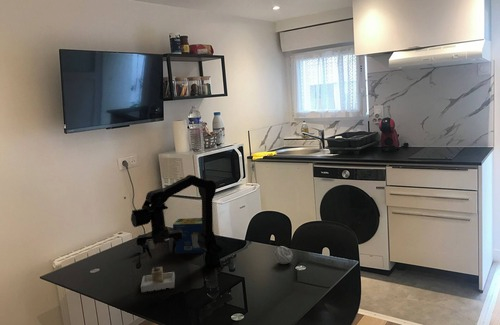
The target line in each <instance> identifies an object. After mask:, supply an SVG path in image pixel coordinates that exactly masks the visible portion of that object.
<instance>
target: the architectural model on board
mask: <svg viewBox="0 0 500 325" xmlns="http://www.w3.org/2000/svg"><path fill="white" fill-rule="evenodd" d="M147 236H152V234H151V233H149V234H148V235H147ZM158 244H159V243H157V244H154V243H153V240H152V241H149V245H150V249H151V250H153V249H155V248H158V247H159V246H158ZM137 248H138V254H144V252H145V253H146V252H147V250H146V249H145V248H144V247H141V246H140V245H137ZM147 253H148V252H147Z"/></svg>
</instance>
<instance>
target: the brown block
mask: <svg viewBox="0 0 500 325" xmlns="http://www.w3.org/2000/svg"><path fill="white" fill-rule="evenodd" d="M163 273H164V271H163V266H155V267H152V269H151V275H152V280H153V284H158V283H164V277H163Z"/></svg>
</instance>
